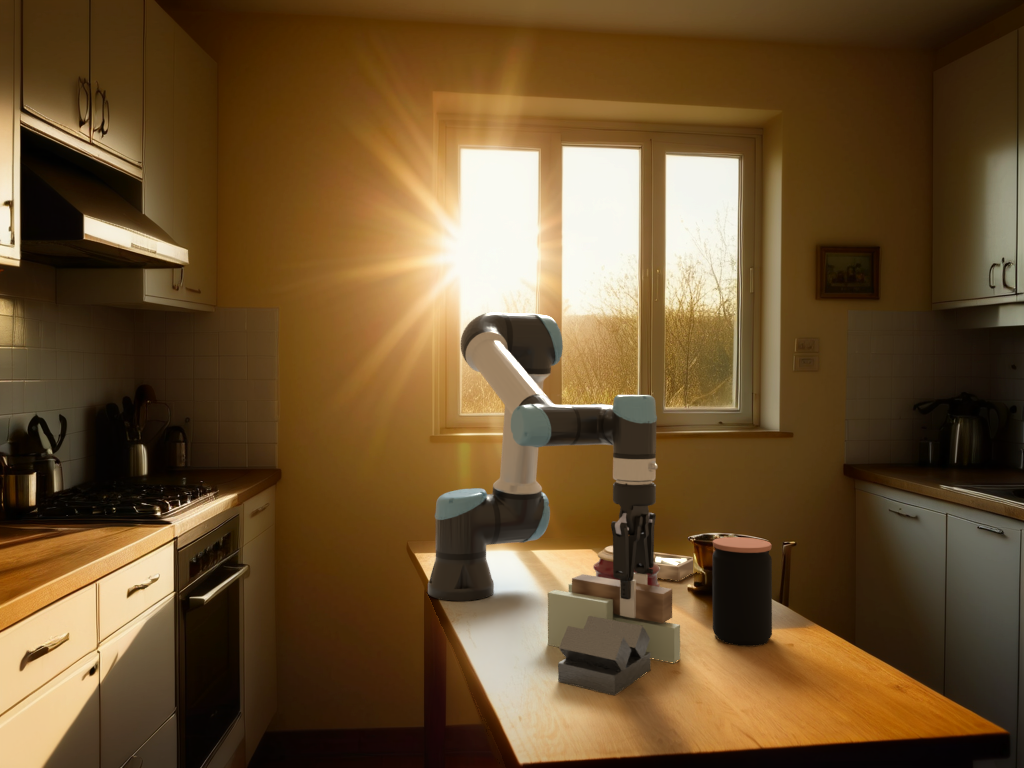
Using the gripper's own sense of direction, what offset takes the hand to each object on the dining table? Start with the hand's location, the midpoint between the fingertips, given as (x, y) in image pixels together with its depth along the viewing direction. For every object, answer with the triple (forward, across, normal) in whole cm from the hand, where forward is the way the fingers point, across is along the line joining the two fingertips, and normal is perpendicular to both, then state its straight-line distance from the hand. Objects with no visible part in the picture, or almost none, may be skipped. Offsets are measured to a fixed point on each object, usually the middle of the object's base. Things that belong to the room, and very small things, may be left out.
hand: (633, 612), depth 139 cm
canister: (+7, +13, +8) cm, 17 cm away
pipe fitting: (+8, +61, +19) cm, 64 cm away
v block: (+7, -13, -1) cm, 15 cm away
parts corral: (+7, +60, +21) cm, 64 cm away
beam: (+7, 0, +3) cm, 8 cm away
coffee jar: (+7, +19, -13) cm, 24 cm away
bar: (0, 0, +3) cm, 3 cm away
